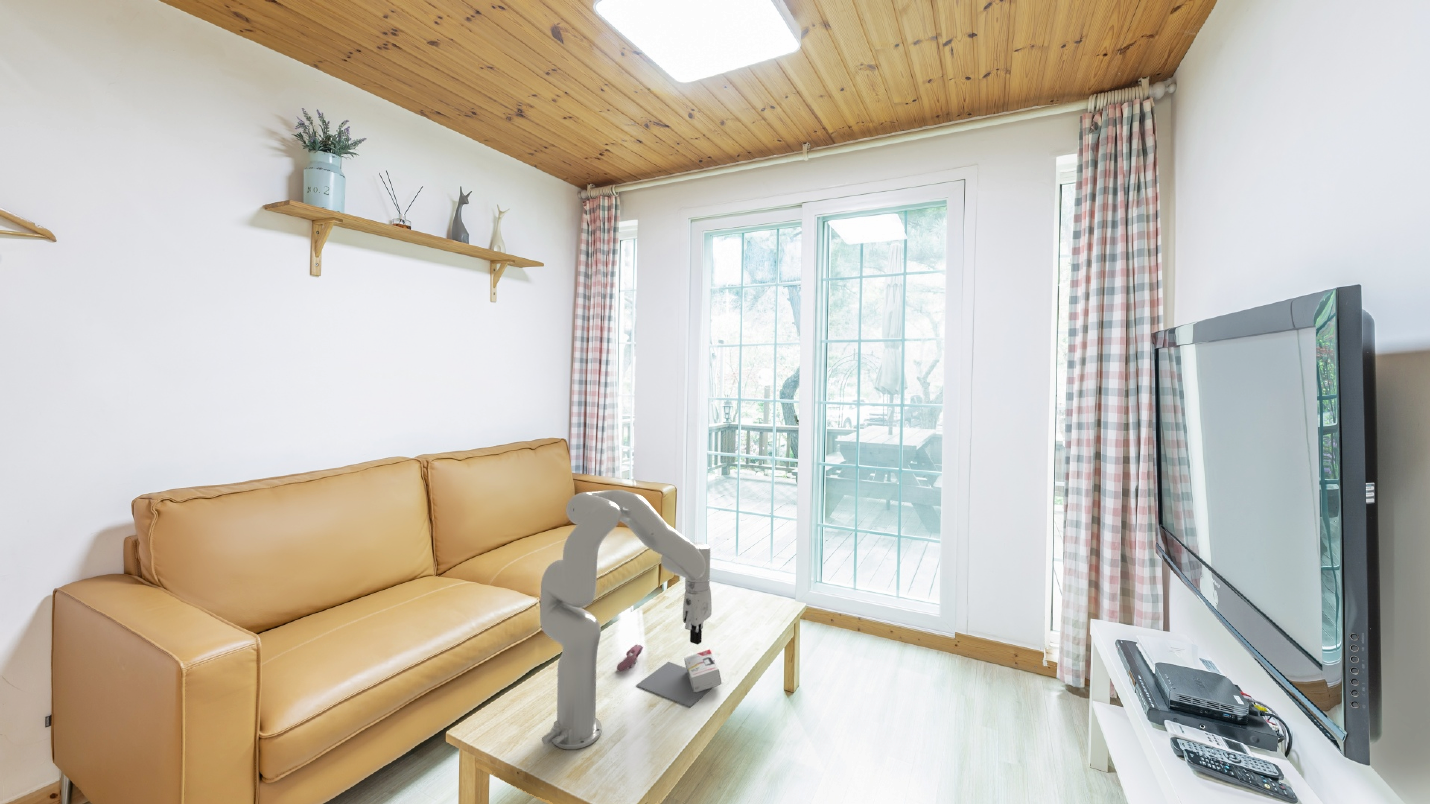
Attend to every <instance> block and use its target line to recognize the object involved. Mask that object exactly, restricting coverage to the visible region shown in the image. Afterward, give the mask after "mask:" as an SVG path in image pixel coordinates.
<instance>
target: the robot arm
mask: <svg viewBox="0 0 1430 804" xmlns="http://www.w3.org/2000/svg"><path fill="white" fill-rule="evenodd" d="M565 513H566V516H567V519H569V521H570V522H571V523H573V524H574V525H576V527H574V529H573V530H572V531H571V532H570V534H569V535H568V536H567V538H566V540H565V543H564V546H563V550H562V552H563V553H562V559H557V560H555V561H553V562H552V563H550V564H549V565H548V566H547V568H546V569H545V571H544V573H543V574H542V578H541V581H540V583H541V584H540V601H539V603H540V606H539V608H540V609H539V621H540V627H541V631H543V633H544V634H545V635H546V636H548V637H549V638H550V639H551V640H553V641H555V642H556V643H558V644H559V645H560V646H561V647H562V652H561V655H560V657H559V659H558V662H557V672H556V673H557V674H556V676H557V691H556V692H557V693H556V694H557V696H556V721H553V725H552V727H551V729H550V732H548V733H546V734H545V735H543V736H542V737H541V741H542V744H543V745H546V746H547V745H548V744H549V743H550V742H551V743H553V745H554V746H556V747H558V748H560V749H564V750H579V749H582V748H585V747H588V746H590V745H592V744H593V743H595V742H596V741H597V740H598V739H599V738H600V736H601V734H602V729H603V728H602V722H601V721H600V720H599V718H597V716H596V714H597V713H596V712H597V711H596V710H597V706H596V705H597V659H598V657H597V656H598V648H599V644H600V641H601V634H602V629H601V624H600V622H599V620H598V619H597V617H596V616H595V615H593V614H592V612H590V611H588V610H585V609H583V608H587V607H588V606H589V605H591V603H592V602H593V601H594V599H595V598H596V594H597V582H598V581H597V577H598V576H597V575H598V556H599V555H598V554H599V549H600V547H601V545H602V543H603V541H604V540H605V539H606V538H607V537H608V535H609V534H610V533H611V532H612V531H614V530H615V528H617V526H618V524H619V522H621V523H623V524H624V525H625V526H627V528H628V529H629V530H630V531H631V532H632V533H633V534H634V535H635V537H637V539H638V540H639V541H640V542H642V544H643V545H644V546H646V547H647V548H648V549H649V550H651V551H652V552H655V553H657V554H658V555H661V557H660V564H661V567H662V568H663V569H664V570H666V571H667V572H669V573H672V574H674V575H677V576H680V577H683V578H684V590H685V592H684V597H683V605H682V622H683V623H684V624H685V625H684V629H685V630H688V631H690V632H689V634H690V635H689V643H691V644H693V645H699V644H701V643H702V639H703V638H702V636H703V635H702V634H703V628H704V622H705V621H707V620H708V619H709V618H711V616H712V590H711V587H710V586H711V585H710V578H711V577H710V576H711V571H710V570H711V548H710V545H708V544H707V543H703V542H693V543H692V542H691V541H690V540H689V539H688V538H687V537H685V536H684V535H682V534H681V533H680V532H679V531H677V530H676V529H675V528H674V527H672V526H671V525H670V524H668V523H667V522H666V521H665V520H664V519H663V518H662V516H661V514H659V513H658V512H657V510H656V509H655V508H654V507H653V506H652V505H651V503H650V502H649V501H648V500H647V499H646V498H645V497H644V496H642V495H640V494H638V493H634V492H630V491H627V490H623V489H605V490H597V491H596V490H595V491H583V492H579V493H576V494H574V495H573V496H572V497H570V499H569V501H568V503H567V504H566V509H565Z"/></svg>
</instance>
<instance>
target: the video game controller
mask: <svg viewBox="0 0 1430 804" xmlns="http://www.w3.org/2000/svg"><path fill="white" fill-rule="evenodd" d="M643 648H644V646H642V645H641V644H638V643H636V644H635V645H633V646H632V647H631V648H630V649H628V651H626V657H625V659H624V660H622V661H621V662H619V663H618V664H617V666H616V670H617V671H618V672H624V671H626V670H628V669H631V668H632V667H633V665H636V664H637V661H638V657H639V655H641V654H642V651H643Z"/></svg>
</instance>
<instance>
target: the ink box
mask: <svg viewBox="0 0 1430 804" xmlns="http://www.w3.org/2000/svg"><path fill="white" fill-rule="evenodd" d="M683 658H684V665H685V668H686V670H687V673H688V676H689V679H690V682H691V685H692V689H693V692H699V691H702V690H705V689H709V688H712V687H713V688H714V687H717V686H720V685H721V684H722V678H721V673H720V670H719V666H718V665H717V662H716V660H715V658H714V656H713V653H712V651H711V650H710V648H709V649H707V650H703V651H701V652H697V653H694V654H691V655H689V656H685V657H683ZM713 688H712V689H713Z"/></svg>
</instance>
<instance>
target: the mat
mask: <svg viewBox="0 0 1430 804" xmlns="http://www.w3.org/2000/svg"><path fill="white" fill-rule="evenodd" d="M635 686H636V687H637V688H640V689H642V690H645V691H647V692H648V693H649V692H650V693H652V694H655V695H657V696H659V697H662V698H664V699H667V700H668V701H672V702H674V703H678V704H680V705H681V706H684V707H687V708H689V709H690V708H692V706H694V705H695V704H696V703H697V702H699V700H701V699H702V698H703V697H704V696H705V695H706V694H707V693H708V692H710V691H711V690H712V689H713V688H714V687H712V688H709V689H705V690H702V691H699V692H693V689H692V685H691V682H690V679H689V676H688V673H687V670H686V666H682V665H680V664H677V663H673V662H671V661H667V662H666V663H665V664H663V665H661V666H660V667H659V668H658V669H656V670H655V671H653V672H652V673H651V674H649V675H648V676H647V677H645V678H643V679H642V680H641V681H640V682H638V683H637V684H636V685H635Z"/></svg>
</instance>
